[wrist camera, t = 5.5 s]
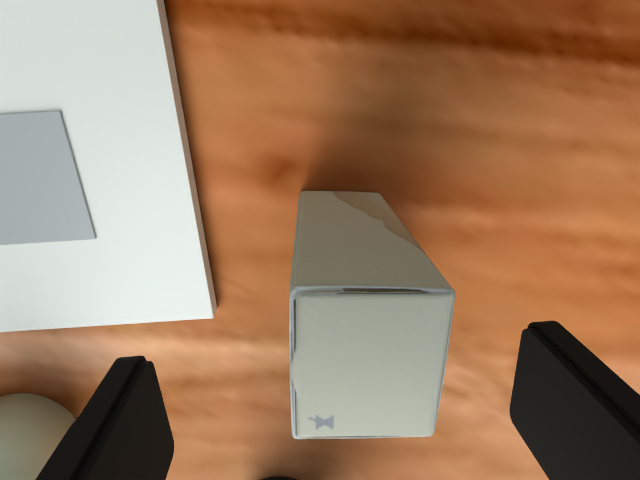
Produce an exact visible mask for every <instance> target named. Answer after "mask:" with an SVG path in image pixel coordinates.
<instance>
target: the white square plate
mask: <svg viewBox="0 0 640 480" xmlns="http://www.w3.org/2000/svg"><path fill="white" fill-rule="evenodd" d="M216 310H217V304H216V298H215V292H214V287H213V281H212V275H211V269H210V264H209V258H208V252H207V246H206V241H205V235H204V229H203V223H202V218H201V212H200V206H199V200H198V195H197V189H196V183H195V177H194V172H193V166H192V160H191V154H190V149H189V143H188V137H187V131H186V126H185V120H184V114H183V108H182V103H181V97H180V91H179V85H178V80H177V74H176V68H175V62H174V56H173V51H172V45H171V39H170V33H169V28H168V22H167V16H166V10H165V5H164V0H0V332H10V331H25V330H40V329H55V328H71V327H86V326H101V325H116V324H131V323H146V322H162V321H177V320H192V319H207V318H214V315H215V313H216Z"/></svg>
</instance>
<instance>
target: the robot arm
mask: <svg viewBox="0 0 640 480" xmlns="http://www.w3.org/2000/svg"><path fill="white" fill-rule="evenodd" d="M510 417H511V420H512V422H513V424H514V426H515V427H516V429H517V431H518V432H519V434H520V435H521V437H522V438H523V440H524V441H525V443H526V444H527V446H528V447H529V449H530V451H531V452H532V454H533V455H534V457H535V458H536V460H537V461H538V463H539V464H540V466H541V468H542V469H543V471H544V472H545V474H546V475H547V477H548V478H549V480H640V395H639V394H638V393H637V392H635V391H634V390H633V389H632V388H631V387H630V386H629V385H628V384H627V383H625V382H624V381H623V380H622V379H621V378H620V377H619V376H618V375H616V374H615V373H614V372H613V371H612V370H611V369H610V368H609V367H608V366H606V365H605V364H604V363H603V362H602V361H601V360H600V359H599V358H597V357H596V356H595V355H594V354H593V353H592V352H591V351H590V350H589V349H587V348H586V347H585V346H584V345H583V344H582V343H581V342H580V341H578V340H577V339H576V338H575V337H574V336H573V335H572V334H571V333H569V332H568V331H567V330H566V329H565V328H564V327H563V326H562V325H561V324H559V323H558V322H556V321H543V322H532V323H530V324H529V325H528V328H527V329H524V330H523V331H522V335H521V341H520V347H519V354H518V360H517V366H516V372H515V378H514V385H513V391H512V397H511V403H510ZM173 453H174V440H173V436H172V432H171V428H170V425H169V421H168V417H167V413H166V409H165V406H164V402H163V398H162V394H161V390H160V387H159V383H158V379H157V375H156V371H155V368H154V364H153V363H152V361H146V359H145V357H144V356H133V357H121V358H118V359H116V361H115V362H114V363H113V365H112V366H111V368H110V369H109V371H108V373H107V374H106V376H105V377H104V379H103V380H102V382H101V383H100V385H99V386H98V388H97V390H96V391H95V393H94V394H93V396H92V397H91V399H90V400H89V402H88V403H87V405H86V407H85V408H84V410H83V411H82V413H81V414H80V416H79V417H78V419H77V420H76V421H74V423H73V424H72V425H71V426H70V427H69V429H68V430H67V432H66V434H65V435H64V437H63V438H62V440H61V441H60V443H59V444H58V446H57V447H56V449H55V450H54V452H53V453H52V455H51V456H50V458H49V459H48V461H47V463H46V464H45V466H44V467H43V469H42V470H41V472H40V473H39V475H38V476H37V478H36V479H35V480H165V479H166V476H167V473H168V470H169V467H170V464H171V461H172V458H173Z"/></svg>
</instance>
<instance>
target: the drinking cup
mask: <svg viewBox="0 0 640 480" xmlns="http://www.w3.org/2000/svg"><path fill="white" fill-rule="evenodd" d="M264 480H294V479H291V478H286V477H272V478H267V479H264Z"/></svg>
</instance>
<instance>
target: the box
mask: <svg viewBox="0 0 640 480" xmlns="http://www.w3.org/2000/svg"><path fill="white" fill-rule="evenodd" d="M454 301H455V291H454V290H453V288H452V287H451V286H450V285H449V283H448V282H447V281H446V280H445V278H444V277H443V276H442V274H441V273H440V272H439V271H438V269H437V268H436V267H435V265H434V264H433V263H432V261H431V260H430V259H429V257H428V256H427V255H426V253H425V252H424V251H423V249H422V248H421V247H420V245H419V244H418V243H417V241H416V240H415V239H414V237H413V236H412V235H411V234H410V232H409V231H408V229H407V228H406V227H405V226H404V224H403V223H402V222H401V220H400V219H399V218H398V216H397V215H396V214H395V212H394V211H393V210H392V209H391V207H390V206H389V205H388V203H387V202H386V201H385V199H384V198H383V197H382V195H381V194H380V193H372V192H352V191H302V192H301V193H300V194H299V200H298V210H297V220H296V230H295V240H294V250H293V259H292V269H291V281H290V293H289V356H290V397H291V427H292V435H293V437H294V438H295V439H347V438H392V437H427V436H431V435H433V433H434V430H435V425H436V420H437V414H438V408H439V404H440V398H441V393H442V386H443V381H444V374H445V367H446V360H447V354H448V346H449V339H450V331H451V324H452V316H453V307H454Z"/></svg>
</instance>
